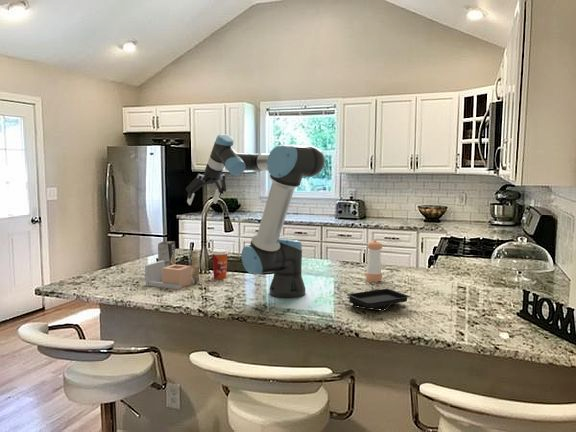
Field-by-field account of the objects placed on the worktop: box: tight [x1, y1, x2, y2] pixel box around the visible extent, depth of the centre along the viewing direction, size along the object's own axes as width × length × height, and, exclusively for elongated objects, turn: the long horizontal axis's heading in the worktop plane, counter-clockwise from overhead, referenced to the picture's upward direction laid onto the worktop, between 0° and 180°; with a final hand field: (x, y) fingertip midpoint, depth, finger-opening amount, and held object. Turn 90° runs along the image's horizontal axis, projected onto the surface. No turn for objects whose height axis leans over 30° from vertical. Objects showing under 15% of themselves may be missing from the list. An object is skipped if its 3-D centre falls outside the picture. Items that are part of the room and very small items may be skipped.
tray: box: [346, 288, 411, 311], centre depth 181 cm, size 30×23×5 cm
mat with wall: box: [144, 260, 195, 290], centre depth 211 cm, size 19×20×10 cm
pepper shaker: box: [365, 239, 383, 282], centre depth 222 cm, size 7×7×19 cm
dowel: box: [191, 250, 200, 283], centre depth 214 cm, size 3×3×14 cm
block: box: [161, 263, 193, 289], centre depth 206 cm, size 9×9×8 cm
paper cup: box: [211, 248, 229, 280], centre depth 221 cm, size 8×8×14 cm
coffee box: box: [157, 240, 176, 267], centre depth 231 cm, size 9×6×16 cm
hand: (201, 202), depth 223 cm, fingers open, 13 cm apart
